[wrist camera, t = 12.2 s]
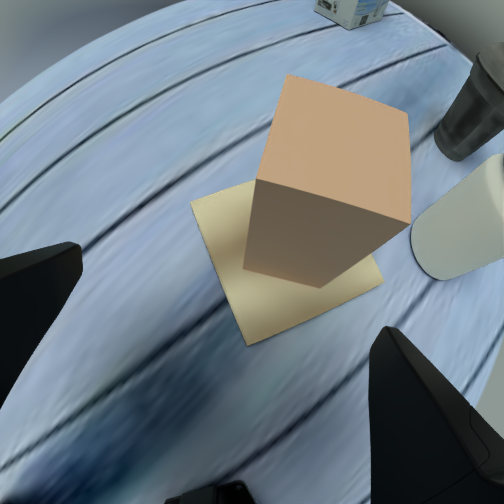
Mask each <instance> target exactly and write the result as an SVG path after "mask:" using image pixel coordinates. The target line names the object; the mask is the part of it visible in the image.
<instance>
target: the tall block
mask: <svg viewBox="0 0 504 504" xmlns="http://www.w3.org/2000/svg"><path fill="white" fill-rule="evenodd" d="M410 224H411V158H410V139H409V126H408V115H407V113H405V112H403V111H400V110H398V109H395V108H393V107H390V106H388V105H385V104H382V103H380V102H377V101H374V100H372V99H369V98H366V97H363V96H360V95H358V94H355V93H352V92H349V91H346V90H342V89H339V88H336V87H333V86H329V85H326V84H323V83H319V82H316V81H312V80H308V79H305V78H301V77H297V76H293V75H289V74H287V75H286V79H285V82H284V85H283V89H282V92H281V95H280V98H279V102H278V105H277V108H276V112H275V115H274V118H273V122H272V125H271V129H270V132H269V135H268V139H267V142H266V146H265V149H264V152H263V156H262V159H261V163H260V166H259V170H258V173H257V176H256V181H255V188H254V195H253V201H252V208H251V215H250V221H249V228H248V235H247V242H246V248H245V255H244V262H243V269H244V270H248V271H252V272H256V273H260V274H264V275H268V276H272V277H276V278H280V279H283V280H287V281H291V282H295V283H299V284H303V285H307V286H311V287H315V288H319V289H320V288H322V287H323V286H325V285H326V284H328V283H329V282H330V281H332V280H333V279H335V278H336V277H338V276H339V275H341V274H342V273H344V272H345V271H347V270H348V269H349V268H351V267H352V266H354V265H355V264H357V263H358V262H359V261H361V260H362V259H364V258H365V257H367V256H368V255H369V254H371V253H372V252H374V251H375V250H376V249H378V248H379V247H380V246H382V245H383V244H385V243H386V242H387V241H389V240H390V239H391V238H393V237H394V236H395V235H397V234H398V233H399V232H401V231H402V230H404V229H405V228H406V227H407V226H409V225H410Z"/></svg>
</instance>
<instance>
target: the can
mask: <svg viewBox="0 0 504 504" xmlns="http://www.w3.org/2000/svg"><path fill="white" fill-rule="evenodd" d="M411 243H412V248H413V252H414V255H415V257H416V259H417V261H418V263H419V264H420V266H421V267H422V268H423V270H424V271H425V272H426V273H428V274H429V275H430V276H432V277H433V278H436V279H439V280H449V279H452V278H455V277H458V276H461V275H463V274H466V273H468V272H471V271H473V270H476V269H478V268H480V267H483V266H485V265H488V264H490V263H492V262H495V261H497V260H499V259H502V258H504V154H496V155H493V156H491V157H489V158H488V159H487V160H486V161H484V162H483V163H482V164H481V165H480V166H478V167H477V168H476V169H475V170H474V171H472V172H471V173H470V174H469V175H468V176H467V177H465V178H464V179H463V180H462V181H461V182H459V183H458V184H457V185H456V186H455V187H453V188H452V189H451V190H450V191H449V192H447V193H446V194H445V195H444V196H443V197H441V198H440V199H439V200H438V201H436V202H435V203H434V204H433V205H431V206H430V207H429V208H428V209H427V210H425V211H424V212H423V213H422V214H421V215H420V216H419V217H418V218H417V219H416V220H415V222H414V224H413V226H412V231H411Z"/></svg>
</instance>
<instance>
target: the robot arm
mask: <svg viewBox="0 0 504 504" xmlns="http://www.w3.org/2000/svg"><path fill="white" fill-rule="evenodd" d="M82 272H83V262H82V249H81V246H80V245H79V244H76V243H73V242H64V243H60V244H56V245H52V246H48V247H44V248H40V249H36V250H32V251H29V252H25V253H21V254H17V255H14V256H10V257H7V258H3V259H0V409H1V407H2V405H3V403H4V402H5V400H6V398H7V396H8V394H9V392H10V391H11V389H12V387H13V385H14V384H15V382H16V380H17V379H18V377H19V375H20V373H21V372H22V370H23V368H24V367H25V365H26V364H27V362H28V360H29V359H30V357H31V355H32V354H33V352H34V351H35V349H36V348H37V346H38V345H39V343H40V341H41V340H42V338H43V337H44V335H45V334H46V332H47V331H48V329H49V328H50V326H51V325H52V324H53V322H54V321H55V319H56V318H57V316H58V315H59V313H60V311H61V310H62V308H63V306H64V305H65V303H66V301H67V299H68V298H69V296H70V294H71V292H72V291H73V289H74V287H75V286H76V284H77V282H78V281H79V279H80V277H81V275H82ZM368 401H369V420H370V444H371V504H504V439H503V438H502V437H501V436H500V435H499V434H498V433H497V432H496V431H495V430H494V429H493V428H492V427H491V426H490V425H489V424H488V423H487V422H486V421H485V420H484V419H483V418H482V416H481V415H480V414H479V413H478V412H477V411H476V410H475V409H474V408H473V407H472V406H471V405H470V403H469V402H468V401H467V400H466V399H465V398H464V397H463V396H462V395H461V394H460V393H459V391H458V390H457V389H456V388H455V387H454V386H453V385H452V384H451V383H450V382H449V381H448V380H447V379H446V378H445V377H444V375H443V374H442V373H441V372H440V371H439V370H438V369H437V368H436V367H435V366H434V365H433V364H432V363H431V362H430V361H429V360H428V359H427V358H426V357H425V356H424V355H423V354H422V353H421V352H420V351H419V350H418V349H417V347H416V346H415V345H414V344H413V343H412V342H411V341H410V340H409V339H408V338H407V337H406V336H405V335H404V334H403V333H402V332H401V331H400V330H399V329H397V328H394V327H389V326H385V327H383V328H382V330H381V331H380V333H379V334H378V336H377V338H376V339H375V341H374V343H373V344H372V346H371V349H370V353H369V390H368ZM237 485H241V486H242V488H239V489H238V488H236V486H237ZM164 504H257V503H256V502H255V500H254V498H253V496H252V495H251V493H250V491H249V489H248V488H247V486H246V484H245V483H244V482H243V481H240V480H238V481H234V482H231V483H228V484H225V485H221V486H218V487H216V486H210V487H206V488H202V489H199V490H195V491H191V492H187V493H183V494H182V496H180V497H176V498H171V499H167V500H166V501H165V503H164Z"/></svg>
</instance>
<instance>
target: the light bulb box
mask: <svg viewBox="0 0 504 504" xmlns="http://www.w3.org/2000/svg"><path fill="white" fill-rule="evenodd" d="M388 2H389V0H316V4H315V9H314V11H316V12H318V13H320V14H321V15H323V16H325V17H327V18H329V19H331V20H332V21H334V22H336V23H338V24H339V25H341V26H343V27H344V28H346V29H348V30H350V29H353V28H356V27H360V26H363V25H366V24H370V23H373V22H376V21H380V20H381V19H382V17H383V14H384V12H385V9H386V7H387V4H388Z"/></svg>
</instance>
